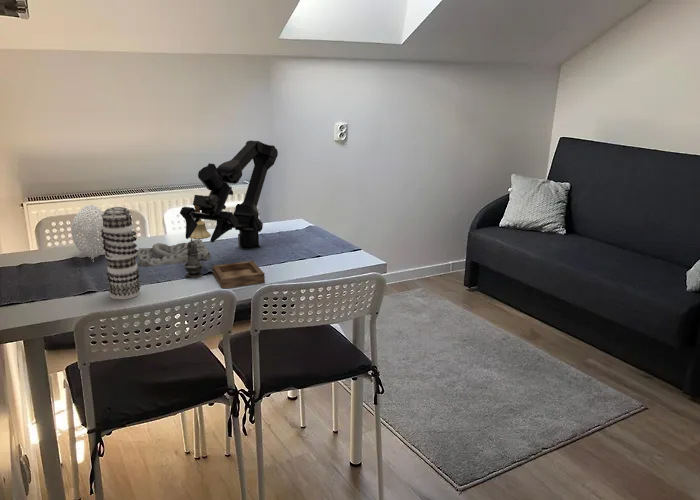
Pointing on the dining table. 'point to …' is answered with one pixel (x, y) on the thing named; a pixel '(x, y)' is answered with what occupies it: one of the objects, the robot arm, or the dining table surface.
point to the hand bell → (200, 229)
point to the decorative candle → (120, 253)
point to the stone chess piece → (193, 261)
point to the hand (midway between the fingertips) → (198, 240)
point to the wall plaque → (169, 254)
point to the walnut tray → (238, 274)
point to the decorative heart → (88, 231)
